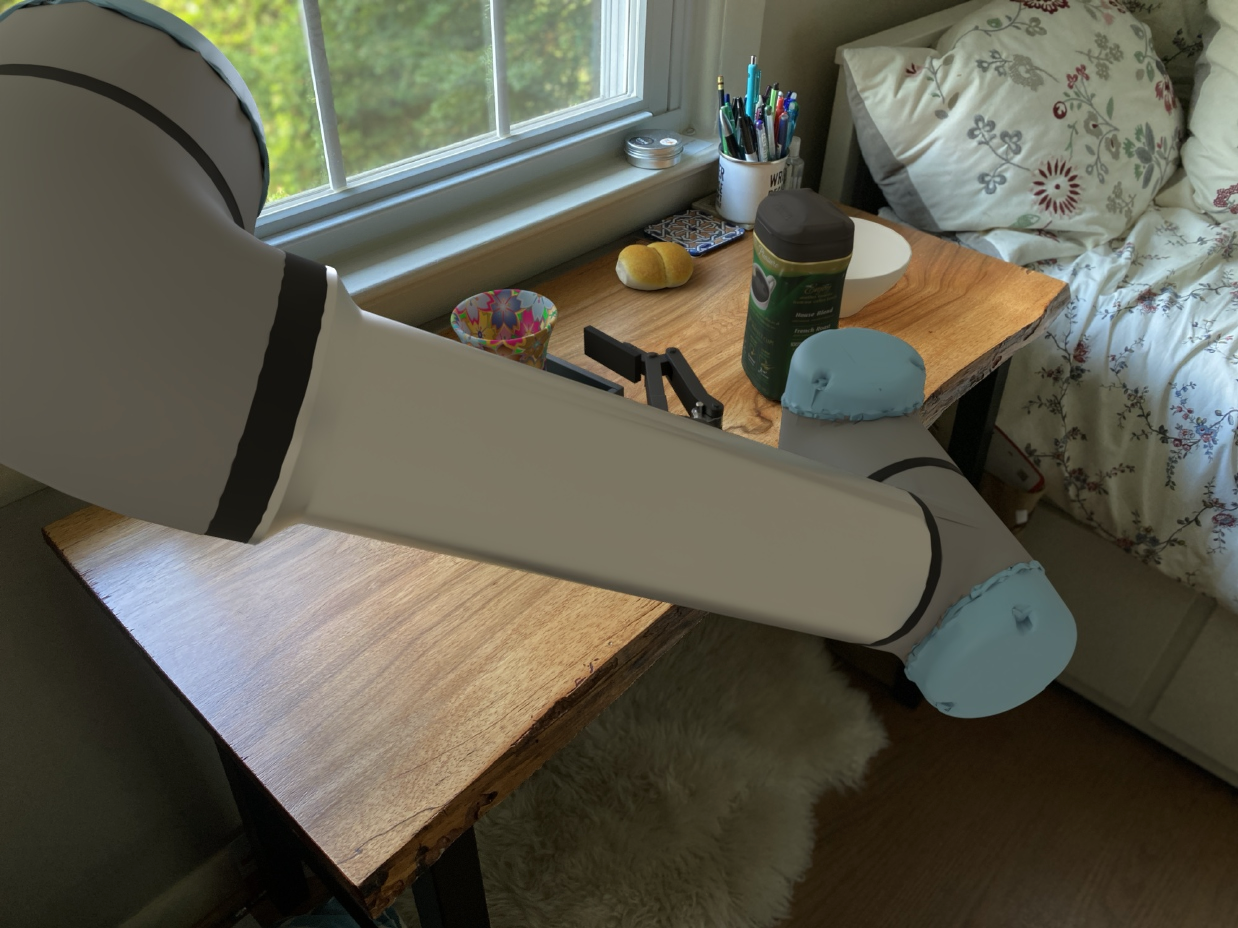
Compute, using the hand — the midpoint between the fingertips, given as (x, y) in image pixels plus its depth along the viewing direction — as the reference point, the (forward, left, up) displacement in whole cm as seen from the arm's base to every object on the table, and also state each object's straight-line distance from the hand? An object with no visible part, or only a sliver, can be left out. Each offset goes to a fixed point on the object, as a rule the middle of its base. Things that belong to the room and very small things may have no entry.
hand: (526, 368), depth 79 cm
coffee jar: (+26, +7, -9) cm, 28 cm away
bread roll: (+18, +31, -9) cm, 37 cm away
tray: (-3, +5, -9) cm, 10 cm away
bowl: (+36, +21, -9) cm, 43 cm away
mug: (-2, +5, -8) cm, 10 cm away
